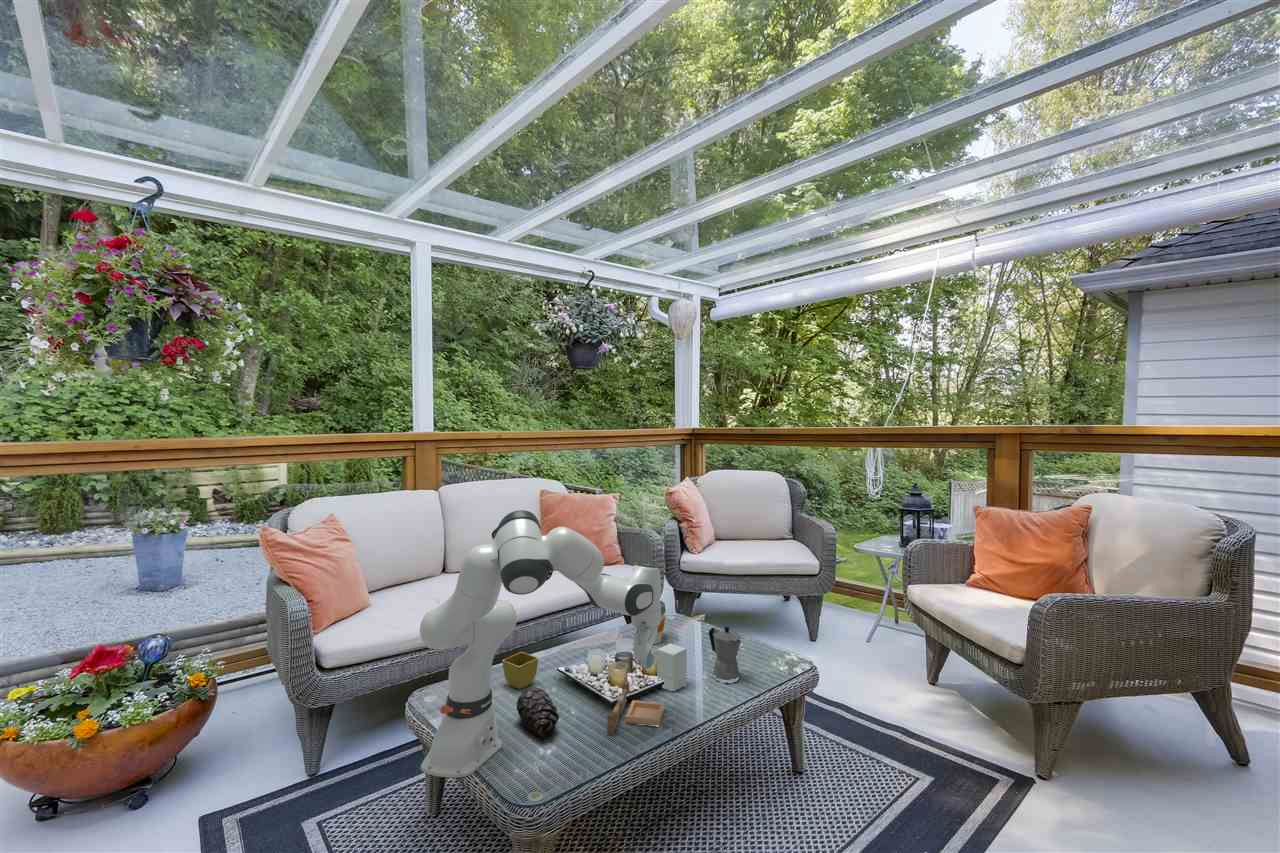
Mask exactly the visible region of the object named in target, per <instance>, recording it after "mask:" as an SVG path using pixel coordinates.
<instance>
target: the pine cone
mask: <svg viewBox="0 0 1280 853" xmlns="http://www.w3.org/2000/svg"><path fill="white" fill-rule="evenodd" d="M516 711H517V712H518V717H519V718H520V726H521V727H522V728H523V729H524V731H526V733H528V735H531V737H532V738H534V739H535V740H536V741H538V742H540V743H544V744H546V742H547V741H548V740H550V739H552V738H553V736H554V733H555V729H556V724H557V722H558V721H559V719H560V715H559V713H558V712H557V711H558V709H557V706H556V705H555V704H554V703H553V700H552V698H551V697H550V695H549V693H548V692H547V691H545V690H544V688H543V689H542V688H540V687H530V688H528V689H526V690H524V691H522V692H521V694H520V695H519V697H518V698H517V701H516Z"/></svg>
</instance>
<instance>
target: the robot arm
mask: <svg viewBox="0 0 1280 853" xmlns="http://www.w3.org/2000/svg"><path fill="white" fill-rule="evenodd" d="M541 529H542V527H541V525H540V521H539V520H538V517H537V516H536V515H535V514H534V513H533V512H531V511H528V510H524V509H521V510H520V509H518V510H514V511H511V512H509V513H508V514H507V515H505V516H504V517H503V518H502V519H501V520H500V521H499V524H498V526H497V527H495V529H494V530H493V531H492V532H491V539H492V542H490V543H488V544H487V543H486V544H480V545H476V546H474V547H473V548H472V549H470V550H469V552H467V555H466V556H465V558H464V560H463V562H462V564H461V567H460V568H459V569H460V570H459V574H458V577H457V583H456V586H455V589H454V591H453V593H452V595H450V597H448V599H446V601H444V602H443V603H441V605H439V606H437V607H436V608H433V609H431V610H430V611H428V612H426V614H425V615H424V616H423V618H422V620H421V622H420V625H419V635H420V638H421V641H422V642H423V644H424V645H425V646H426V647H427V648H429V649H434V650H436V649H437V650H448V649H453V648H459V647H465V646H469V647H467V649H466V651H464V652H463V653H462V654H461V655H459V656H458V657H457V658H455V659H454V660H453V661H452V663H451V665H450V667H449V669H448V694H447V697H446V701H445V704H442V705H441V707H440V710H439V711H440V714H444V715H443V716H442V719H441V721H440V723H439V725H438V727H437V730H436V731H435V735H434V736H433V737H432V738H433V739H432V741H431V744H430V745H431V746H430V747H431V748H430V750H429V751H428V753H427V754H426V756H425V758H424V759H423V761H422V763H421V765H420V770H421V772H423V773H425V774H427V775H430V776H434V777H440V778H464V777H468V776H471V775H472V774H473V773H474V772H476V771H477V770H478V769H479V767H481V766H482V765H484V763H486V762H487V761H488V760H489V759H490V758H491V757H493V755H495V754H496V753H497V752H498V751H500V749H501V748H503V742H502V741H501V740H500V739H499V736H498V722H497V715H496V714H495V712H494V709H493V707H492V704H493V690H492V689H491V676H492V666H493V661H494V658H495V655H496V653H497V651H498V649H499V648H500V646H501V645H502V643H503V642H504V641H505V640H506V639H507V638H508V637H509V636H511V634H512V633H513V632H514V630H515V628H516V625H517V619H518V617H517V612H516V609H515V607H514V605H512V603H511V602H510V601H508V600H502V599H499V597H500V596H499V595H500V592H501V588H502V585H503V588H504V589H505V590H506V591H507V592H509V593H511V594H514V595H519V596H520V595H521V596H522V595H523V596H524V595H528V594H531V593H534V592H535V591H537V590H538V589H539V588H541V587H542V586H543V585H544V584H545V583H546V582H547V581H548V580H550V579H551V577H552V575H553V573H554V570H555V571H557V572H559V574H561V575H563V576H564V577H565V578H566V579H568V580H569V581H571V582H573V583H575V585H577V586H578V587H579V588H581V589H582V590H583V591H584V592H585V594H586V596H587V597H588V599H589V601H590V604H591V605H592V606H593V607H594V608H597V609H602V610H608V611H611V612H615V613H618V614H622V615H625V616H629V617H631V625H632V626H635V630H636V631H635V634H634V639H633V640H634V642H633V658H634V660H636V661H638V660H640V665H639V666H640V668H641V669H645V668H646V667H647V656H648V654H649V652H651V653H652V649H653V646H654V645H653V643H654V640H655V638H656V636H657V632H658V625H660V623H661V605H660V601H661V600H660V599H661V594H662V581H661V580H662V579H661V574H660V573H661V572H660V568H659V567H658V566H656V565H654V564H650V563H643V562H639V563H638V562H637V563H635V564H633V565H634V566H633V569H632V573H631V574H630V575H629V576H628V577H627V578H621V577H617V576H614V575H611V574H607V573H603V569H604V566H605V558H604V555H603V553H602V551H601V550H600V549H599V547H598V546H597V545H596V544H595V543H593V542H592V541H591V540H589V539H588V538H587V537H585V536H584V535H583V534H581V533H579V532H577V531H576V530H574V529H571V528H569V527H566V526H557V527H555V528H553V529H551V530H550V531H549V532H548V533H547V534H546V535H542V531H541Z"/></svg>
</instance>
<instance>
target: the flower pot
mask: <svg viewBox="0 0 1280 853" xmlns="http://www.w3.org/2000/svg"><path fill="white" fill-rule="evenodd" d="M501 661H502V662H501V663H502V669H503V675H504V678H505V680H506V682H507V683H508V685H509V686H511V687H513V688H515V689H518V690H522V689H523V688H525V687H528V686H530V685H531V684H532V683H533V681H534V679H535V677H536V674H537V671H538V664H539V657H538V656H534V655H533V654H532V655H531V654H529V653H527V652H523V651H521V652H517V653H515V654H513V655H511V656H509V657H506V658H504V659H502V660H501Z"/></svg>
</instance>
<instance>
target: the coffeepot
mask: <svg viewBox="0 0 1280 853" xmlns="http://www.w3.org/2000/svg"><path fill="white" fill-rule="evenodd" d="M723 629H724V630H720V629H718V628H715V627H711V628H710V629H709V631H708V636H709V637H708V638H709V642H710V646H711V650H712V651H713V652H714V653H715V654H716V658H715V663H714V667H713V668H714V669H713V673H712V675H713V674H714V675H715V676H716V678H719V679H723V680H730V679H736V678H737V677H738V676H740V672H739V664H738V661H737V656H738V654H739V649H740V645H741V644H742V640H741V635H740V634H739V633H737V632H734V631H731V630H730V627H729V626H724V628H723Z"/></svg>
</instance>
